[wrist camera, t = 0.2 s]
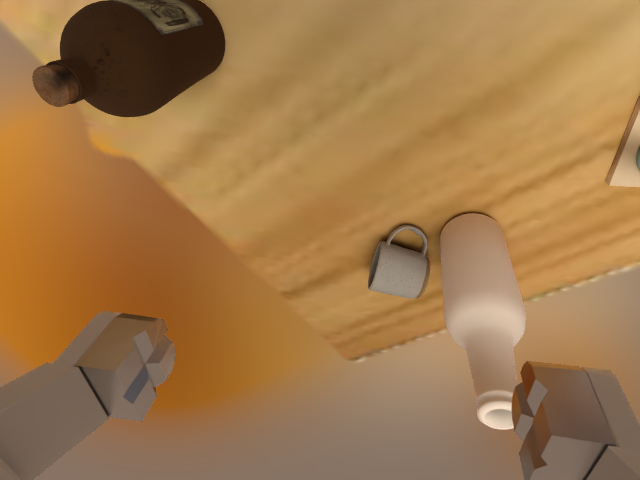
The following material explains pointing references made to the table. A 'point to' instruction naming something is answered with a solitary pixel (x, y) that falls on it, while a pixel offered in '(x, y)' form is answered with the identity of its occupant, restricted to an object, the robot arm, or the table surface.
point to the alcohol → (483, 310)
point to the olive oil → (132, 55)
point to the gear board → (628, 155)
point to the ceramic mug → (400, 268)
